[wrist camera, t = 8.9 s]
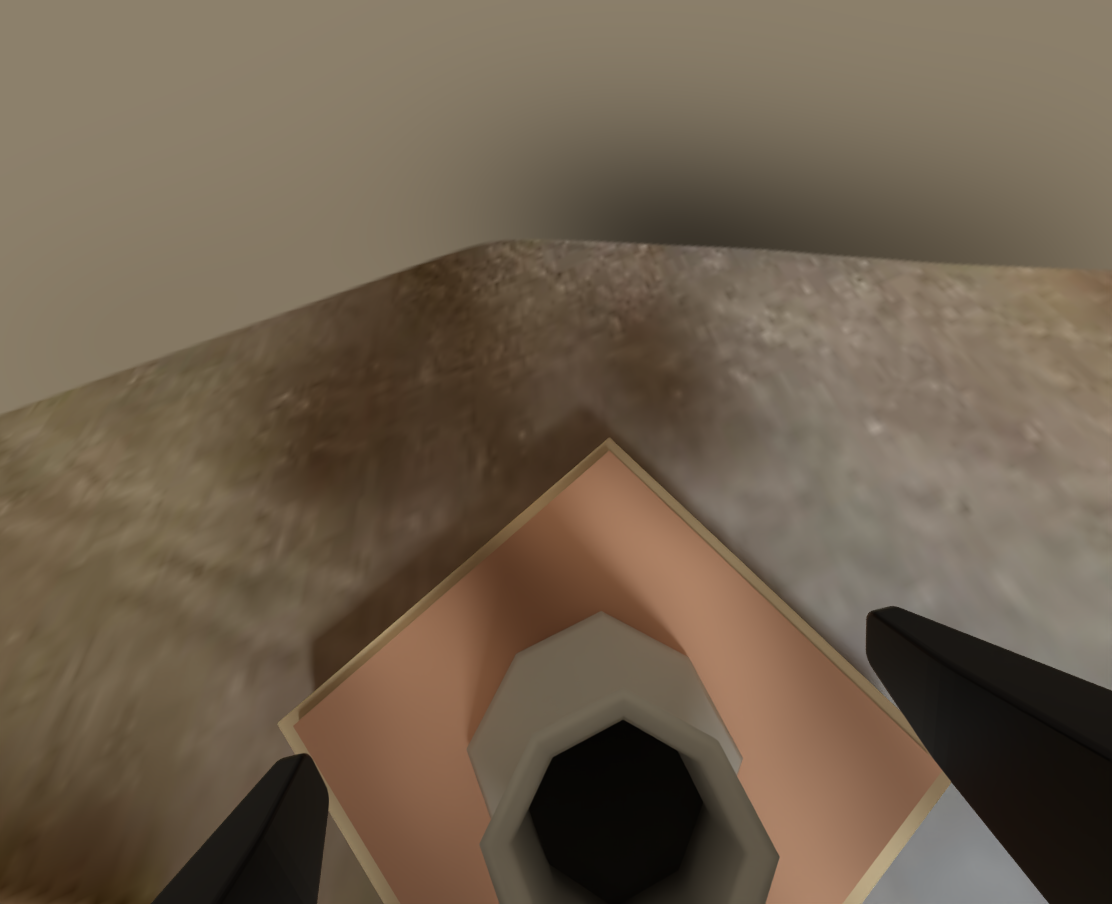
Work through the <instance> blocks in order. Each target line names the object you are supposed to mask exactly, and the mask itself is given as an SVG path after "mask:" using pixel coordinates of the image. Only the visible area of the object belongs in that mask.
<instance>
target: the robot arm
mask: <svg viewBox="0 0 1112 904" xmlns="http://www.w3.org/2000/svg"><path fill="white" fill-rule="evenodd" d="M866 655H867V658H868V661H869V663H870V665H871V667H872V669H873V670H874V672H875V673H876V675H877V676H878V678H879V679H880V681H881V682H882V684H883V685H884V687H885V688H886V690H887V691H888V693H889V694H890V696H891V697H892V699H893V700H894V702H895V703H896V705H897V706H898V708H899V709H900V711H901V712H902V714H903V715H904V717H905V718H906V720H907V721H908V723H909V724H910V726H911V727H912V729H913V730H914V732H915V733H916V735H917V736H918V738H919V739H920V741H921V742H922V744H923V745H924V747H925V748H926V749H927V751H928V752H929V754H930V755H931V756H932V758H933V759H934V761H935V762H936V763H937V764H938V766H939V767H940V768H941V770H942V771H943V772H944V773H945V775H946V776H947V777H948V778H949V780H950V781H951V782H952V783H953V785H954V786H955V787H956V788H957V790H958V791H959V792H960V793H961V795H962V796H963V797H964V798H965V800H966V801H967V802H968V803H969V805H970V806H971V807H972V808H973V810H974V811H975V812H976V813H977V815H978V816H979V817H980V818H981V820H982V821H983V822H984V823H985V825H986V826H987V827H988V828H989V830H990V831H991V832H992V833H993V834H994V836H995V837H996V838H997V839H998V841H999V842H1000V843H1001V844H1002V846H1003V847H1004V848H1005V849H1006V851H1007V852H1008V853H1009V854H1010V856H1011V857H1012V858H1013V859H1014V861H1015V862H1016V863H1017V864H1018V866H1019V867H1020V868H1021V869H1022V871H1023V872H1024V873H1025V874H1026V876H1027V877H1028V878H1029V879H1030V881H1031V882H1032V883H1033V884H1034V886H1035V887H1036V888H1037V889H1038V891H1039V892H1040V893H1041V894H1042V895H1043V897H1044V898H1045V899H1046V900H1047V902H1048V903H1049V904H1112V691H1111V690H1109V689H1106V688H1104V687H1101V686H1099V685H1096V684H1094V683H1091V682H1088V681H1086V680H1083V679H1081V678H1078V677H1076V676H1073V675H1071V674H1068V673H1065V672H1063V671H1060V670H1058V669H1055V668H1053V667H1050V666H1048V665H1045V664H1042V663H1040V662H1037V661H1035V660H1032V659H1030V658H1027V657H1025V656H1022V655H1019V654H1017V653H1014V652H1012V651H1009V650H1007V649H1004V648H1002V647H999V646H996V645H994V644H991V643H989V642H986V641H984V640H981V639H979V638H976V637H973V636H971V635H968V634H966V633H963V632H961V631H958V630H956V629H953V628H950V627H948V626H945V625H943V624H940V623H938V622H935V621H933V620H930V619H928V618H925V617H922V616H920V615H917V614H915V613H912V612H910V611H907V610H905V609H902V608H899V607H896V606H889V607H885V608H881V609H877V610H873V611H871V612H869V613H868V615H867V619H866ZM328 809H329V793H328V789H327V787H326V784H325V782H324V780H323V779H322V777H321V775H320V773H319V771H318V769H317V767H316V765H315V763H314V761H313V759H312V757H311V756H310V755H309V754H307V753H301V754H297V755H293V756H289V757H285V758H282V759H280V760H279V761H277V762H276V763H275V764H274V765H273V766H272V767H271V769H270V770H269V771H268V772H267V773H266V774H265V775H264V776H263V778H262V779H261V780H260V781H259V782H258V783H257V784H256V785H255V787H254V788H253V789H252V790H251V791H250V792H249V793H248V794H247V796H246V797H245V798H244V799H243V800H242V801H241V802H240V804H239V805H238V806H237V807H236V808H235V809H234V810H233V811H232V813H231V814H230V815H229V816H228V817H227V818H226V819H225V820H224V822H223V823H222V824H221V825H220V826H219V827H218V828H217V829H216V831H215V832H214V833H213V834H212V835H211V836H210V837H209V839H208V840H207V841H206V842H205V843H204V844H203V845H202V846H201V848H200V849H199V850H198V851H197V852H196V853H195V854H194V855H193V857H192V858H191V859H190V860H189V861H188V862H187V863H186V864H185V866H184V867H183V868H182V869H181V870H180V871H179V872H178V873H177V875H176V876H175V877H174V878H173V879H172V880H171V881H170V883H169V884H168V885H167V886H166V887H165V888H164V889H163V890H162V892H161V893H160V894H159V895H158V896H157V897H156V898H155V899H154V901H153V902H152V903H151V904H317V899H318V891H319V883H320V875H321V866H322V858H323V850H324V842H325V834H326V826H327V818H328Z"/></svg>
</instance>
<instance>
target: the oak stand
mask: <svg viewBox="0 0 1112 904" xmlns="http://www.w3.org/2000/svg"><path fill="white" fill-rule="evenodd" d="M600 611H602V612H604V613H606V614H608V615H610V616H612V617H614V618H616V619H618V620H619V621H621V622H623V623H625V624H627V625H629V626H631V627H633V628H635V629H636V630H638V631H640V632H642V633H644V634H646V635H648V636H650V637H651V638H653V639H655V640H657V641H659V642H661V643H663V644H665V645H667V646H668V647H670V648H672V649H674V650H676V651H678V652H680V653H682V654H684V655H685V656H687V657H689V658H690V660H691V662H692V664H693V666H694V668H695V670H696V671H697V673H698V675H699V677H700V679H701V681H702V683H703V684H704V686H705V688H706V690H707V692H708V694H709V696H710V697H711V699H712V701H713V703H714V705H715V707H716V709H717V710H718V712H719V714H720V716H721V718H722V720H723V722H724V723H725V725H726V727H727V729H728V731H729V733H730V735H731V736H732V738H733V740H734V742H735V744H736V746H737V748H738V749H739V751H740V753H741V755H742V757H743V760H742V763H741V766H740V769H739V772H738V774H737V777H738V779H739V781H740V782H741V784H742V786H743V788H744V790H745V792H746V794H747V796H748V798H749V799H750V801H751V803H752V805H753V807H754V809H755V811H756V813H757V815H758V817H759V818H760V820H761V822H762V824H763V826H764V828H765V830H766V832H767V834H768V835H769V837H770V839H771V841H772V843H773V845H774V847H775V849H776V851H777V853H778V854H779V856H780V858H779V861H778V864H777V868H776V871H775V874H774V877H773V881H772V884H771V887H770V890H769V894H768V897H767V900H766V903H765V904H862V902H863V901H864V900H865V898H866V897H867V896H868V894H869V893H870V892H871V890H872V889H873V887H874V886H875V885H876V883H877V882H878V881H879V879H880V878H881V877H882V875H883V874H884V873H885V871H886V870H887V869H888V867H889V866H890V865H891V863H892V862H893V860H894V859H895V858H896V856H897V855H898V854H899V852H900V851H901V850H902V848H903V847H904V846H905V844H906V843H907V842H908V840H909V839H910V838H911V836H912V835H913V834H914V832H915V831H916V829H917V828H918V827H919V825H920V824H921V823H922V821H923V820H924V819H925V817H926V816H927V815H928V813H929V812H930V811H931V809H932V808H933V807H934V805H935V804H936V802H937V801H938V800H939V798H940V797H941V796H942V794H943V793H944V792H945V790H946V789H947V788H948V786H949V785H950V784H951V781H950V780H949V778H948V777H947V776H946V775H945V773H944V772H943V771H942V770H941V768H940V767H939V766H938V764H937V763H936V762H935V761H934V759H933V758H932V756H931V755H930V754H929V752H928V751H927V749H926V748H925V747H924V745H923V744H922V742H921V741H920V739H919V738H918V736H917V735H916V733H915V732H914V730H913V729H912V727H911V726H910V724H909V723H908V721H907V720H906V718H905V717H904V715H903V714H902V712H901V711H900V710H899V709H898V708H896V707H895V706H894V705H893V704H892V703H891V702H890V701H889V700H888V699H887V698H886V697H885V696H884V695H883V694H882V693H881V692H879V691H878V690H877V689H876V688H875V687H874V686H873V685H872V684H871V683H870V682H869V681H868V680H867V679H866V678H865V677H864V676H862V675H861V674H860V673H859V672H858V671H857V670H856V669H855V668H854V667H853V666H852V665H851V664H850V663H849V662H848V661H847V660H845V659H844V658H843V657H842V656H841V655H840V654H839V653H838V652H837V651H836V650H835V649H834V648H833V647H832V646H831V645H830V644H828V643H827V642H826V641H825V640H824V639H823V638H822V637H821V636H820V635H819V634H818V633H817V632H816V631H815V630H814V629H813V628H811V627H810V626H809V625H808V624H807V623H806V622H805V621H804V620H803V619H802V618H801V617H800V616H799V615H798V614H797V613H796V612H794V611H793V610H792V609H791V608H790V607H789V606H788V605H787V604H786V603H785V602H784V601H783V600H782V599H781V598H780V597H779V596H777V595H776V594H775V593H774V592H773V591H772V590H771V589H770V588H769V587H768V586H767V585H766V584H765V583H764V582H763V581H762V580H760V579H759V578H758V577H757V576H756V575H755V574H754V573H753V572H752V571H751V570H750V569H749V568H748V567H747V566H746V565H745V564H743V563H742V562H741V561H740V560H739V559H738V558H737V557H736V556H735V555H734V554H733V553H732V552H731V551H730V550H729V549H728V548H726V547H725V546H724V545H723V544H722V543H721V542H720V541H719V540H718V539H717V538H716V537H715V536H714V535H713V534H712V533H711V532H709V531H708V530H707V529H706V528H705V527H704V526H703V525H702V524H701V523H700V522H699V521H698V520H697V519H696V518H695V517H694V516H692V515H691V514H690V513H689V512H688V511H687V510H686V509H685V508H684V507H683V506H682V505H681V504H680V503H679V502H678V501H677V500H675V499H674V498H673V497H672V496H671V495H670V494H669V493H668V492H667V491H666V490H665V489H664V488H663V487H662V486H661V485H660V484H658V483H657V482H656V481H655V480H654V479H653V478H652V477H651V476H650V475H649V474H648V473H647V472H646V471H645V470H644V469H643V468H641V467H640V466H639V465H638V464H637V463H636V462H635V461H634V460H633V459H632V458H631V457H630V456H629V455H628V454H627V453H626V452H624V451H623V450H622V449H621V448H620V447H619V446H618V445H617V444H616V443H615V442H614V441H613V440H612V439H611V438H610V437H609V438H608V439H607V440H605V441H604V442H603V443H602V444H601V445H600V446H598V447H597V448H596V449H595V450H594V451H593V452H592V453H590V454H589V455H588V456H587V457H586V458H585V459H583V460H582V461H581V462H580V463H579V464H578V465H576V466H575V467H574V468H573V469H572V470H571V471H569V472H568V473H567V474H566V475H565V476H564V477H563V478H561V479H560V480H559V481H558V482H557V483H556V484H554V485H553V486H552V487H551V488H550V489H549V490H547V491H546V492H545V493H544V494H543V495H542V496H540V497H539V498H538V499H537V500H536V501H535V502H534V503H532V504H531V505H530V506H529V507H528V508H527V509H525V510H524V511H523V512H522V513H521V514H520V515H518V516H517V517H516V518H515V519H514V520H513V521H511V522H510V523H509V524H508V525H507V526H506V527H505V528H503V529H502V530H501V531H500V532H499V533H498V534H496V535H495V536H494V537H493V538H492V539H491V540H489V541H488V542H487V543H486V544H485V545H484V546H482V547H481V548H480V549H479V550H478V551H477V552H476V553H474V554H473V555H472V556H471V557H470V558H469V559H467V560H466V561H465V562H464V563H463V564H462V565H460V566H459V567H458V568H457V569H456V570H455V571H453V572H452V573H451V574H450V575H449V576H448V577H447V578H445V579H444V580H443V581H442V582H441V583H440V584H438V585H437V586H436V587H435V588H434V589H433V590H431V591H430V592H429V593H428V594H427V595H426V596H424V597H423V598H422V599H421V600H420V601H419V602H418V603H416V604H415V605H414V606H413V607H412V608H411V609H409V610H408V611H407V612H406V613H405V614H404V615H402V616H401V617H400V618H399V619H398V620H397V621H395V622H394V623H393V624H392V625H391V626H390V627H389V628H387V629H386V630H385V631H384V632H383V633H382V634H380V635H379V636H378V637H377V638H376V639H375V640H373V641H372V642H371V643H370V644H369V645H368V646H366V647H365V648H364V649H363V650H362V651H361V652H360V653H358V654H357V655H356V656H355V657H354V658H353V659H351V660H350V661H349V662H348V663H347V664H346V665H344V666H343V667H342V668H341V669H340V670H339V671H337V672H336V673H335V674H334V675H333V676H332V677H331V678H329V679H328V680H327V681H326V682H325V683H324V684H322V685H321V686H320V687H319V688H318V689H317V690H315V691H314V692H313V693H312V694H311V695H310V696H308V697H307V698H306V699H305V700H304V701H303V702H302V703H300V704H299V705H298V706H297V707H296V708H295V709H293V710H292V711H291V712H290V713H289V714H288V715H286V716H285V717H284V718H283V719H282V720H281V721H279V722H278V723H277V724H278V726H279V728H280V729H281V731H282V733H283V734H284V736H285V738H286V739H287V741H288V743H289V745H290V746H291V748H292V750H293V751H294V753H295V755H297V754H301V753H307V754H309V755H310V756H311V757H312V759H313V761H314V763H315V765H316V767H317V769H318V771H319V773H320V775H321V777H322V779H323V780H324V782H325V784H326V787H327V789H328V793H329V809H328V810H329V812H330V814H331V815H332V817H333V819H334V820H335V822H336V824H337V825H338V827H339V829H340V830H341V832H342V834H343V836H344V837H345V839H346V841H347V842H348V844H349V846H350V847H351V849H352V851H353V852H354V854H355V856H356V857H357V859H358V861H359V862H360V864H361V866H362V868H363V869H364V871H365V873H366V874H367V876H368V878H369V879H370V881H371V883H372V884H373V886H374V888H375V889H376V891H377V893H378V894H379V896H380V898H381V900H382V901H383V903H384V904H499V901H498V898H497V895H496V892H495V889H494V886H493V883H492V880H491V878H490V875H489V872H488V869H487V866H486V863H485V860H484V857H483V854H482V851H481V848H480V845H479V844H480V841H481V839H482V837H483V835H484V833H485V831H486V829H487V827H488V825H489V823H490V821H491V818H490V815H489V812H488V810H487V807H486V804H485V801H484V798H483V795H482V792H481V790H480V787H479V784H478V781H477V778H476V775H475V773H474V770H473V767H472V764H471V761H470V758H469V755H468V753H467V750H466V749H467V747H468V745H469V743H470V741H471V739H472V737H473V735H474V734H475V732H476V730H477V728H478V726H479V724H480V722H481V720H482V718H483V716H484V714H485V712H486V711H487V709H488V707H489V705H490V703H491V701H492V699H493V697H494V695H495V693H496V691H497V689H498V687H499V686H500V684H501V682H502V680H503V678H504V676H505V674H506V672H507V670H508V668H509V666H510V664H511V663H512V661H513V659H514V657H515V655H516V653H518V652H520V651H522V650H524V649H526V648H528V647H530V646H532V645H534V644H536V643H538V642H540V641H542V640H544V639H546V638H548V637H550V636H552V635H554V634H556V633H558V632H560V631H562V630H564V629H566V628H568V627H570V626H572V625H574V624H576V623H578V622H580V621H582V620H584V619H586V618H588V617H590V616H592V615H594V614H596V613H598V612H600Z"/></svg>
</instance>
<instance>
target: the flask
mask: <svg viewBox="0 0 1112 904" xmlns="http://www.w3.org/2000/svg"><path fill="white" fill-rule="evenodd" d="M466 750H467V753H468V755H469V758H470V761H471V764H472V767H473V770H474V773H475V775H476V778H477V781H478V784H479V787H480V790H481V792H482V795H483V798H484V801H485V804H486V807H487V810H488V812H489V815H490V818H491V821H490V823H489V825H488V827H487V829H486V831H485V833H484V835H483V837H482V839H481V841H480V844H479V845H480V848H481V851H482V854H483V857H484V860H485V863H486V866H487V869H488V872H489V875H490V878H491V880H492V883H493V886H494V889H495V892H496V895H497V898H498V901H499V904H765V903H766V900H767V897H768V894H769V890H770V887H771V884H772V881H773V877H774V874H775V871H776V868H777V864H778V861H779V858H780V856H779V854H778V853H777V851H776V849H775V847H774V845H773V843H772V841H771V839H770V837H769V835H768V834H767V832H766V830H765V828H764V826H763V824H762V822H761V820H760V818H759V817H758V815H757V813H756V811H755V809H754V807H753V805H752V803H751V801H750V799H749V798H748V796H747V794H746V792H745V790H744V788H743V786H742V784H741V782H740V781H739V779H738V777H737V774H738V772H739V769H740V766H741V763H742V760H743V757H742V755H741V753H740V751H739V749H738V748H737V746H736V744H735V742H734V740H733V738H732V736H731V735H730V733H729V731H728V729H727V727H726V725H725V723H724V722H723V720H722V718H721V716H720V714H719V712H718V710H717V709H716V707H715V705H714V703H713V701H712V699H711V697H710V696H709V694H708V692H707V690H706V688H705V686H704V684H703V683H702V681H701V679H700V677H699V675H698V673H697V671H696V670H695V668H694V666H693V664H692V662H691V660H690V658H689V657H687V656H685V655H684V654H682V653H680V652H678V651H676V650H674V649H672V648H670V647H668V646H667V645H665V644H663V643H661V642H659V641H657V640H655V639H653V638H651V637H650V636H648V635H646V634H644V633H642V632H640V631H638V630H636V629H635V628H633V627H631V626H629V625H627V624H625V623H623V622H621V621H619V620H618V619H616V618H614V617H612V616H610V615H608V614H606V613H604V612H602V611H600V612H598V613H596V614H594V615H592V616H590V617H588V618H586V619H584V620H582V621H580V622H578V623H576V624H574V625H572V626H570V627H568V628H566V629H564V630H562V631H560V632H558V633H556V634H554V635H552V636H550V637H548V638H546V639H544V640H542V641H540V642H538V643H536V644H534V645H532V646H530V647H528V648H526V649H524V650H522V651H520V652H518V653H516V655H515V657H514V659H513V661H512V663H511V664H510V666H509V668H508V670H507V672H506V674H505V676H504V678H503V680H502V682H501V684H500V686H499V687H498V689H497V691H496V693H495V695H494V697H493V699H492V701H491V703H490V705H489V707H488V709H487V711H486V712H485V714H484V716H483V718H482V720H481V722H480V724H479V726H478V728H477V730H476V732H475V734H474V735H473V737H472V739H471V741H470V743H469V745H468V747H467V749H466Z"/></svg>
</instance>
